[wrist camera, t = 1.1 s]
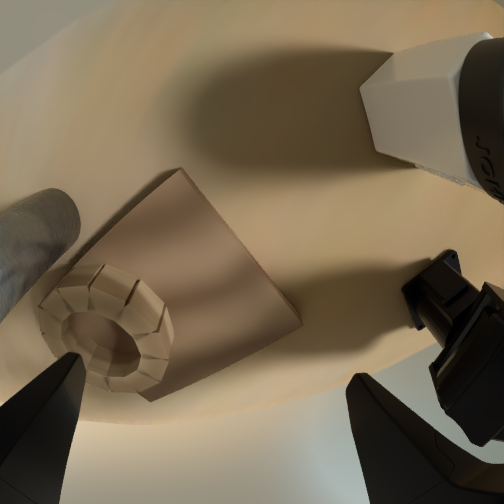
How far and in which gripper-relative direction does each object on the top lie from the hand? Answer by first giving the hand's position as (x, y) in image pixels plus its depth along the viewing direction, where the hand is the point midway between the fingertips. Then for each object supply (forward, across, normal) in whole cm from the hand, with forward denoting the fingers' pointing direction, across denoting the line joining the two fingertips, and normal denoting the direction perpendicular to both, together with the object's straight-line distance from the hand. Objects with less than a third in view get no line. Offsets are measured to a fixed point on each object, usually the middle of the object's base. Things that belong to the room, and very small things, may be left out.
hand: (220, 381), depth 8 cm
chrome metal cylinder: (+13, +13, +1) cm, 18 cm away
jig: (+13, +4, +8) cm, 15 cm away
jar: (+13, -12, -11) cm, 21 cm away
